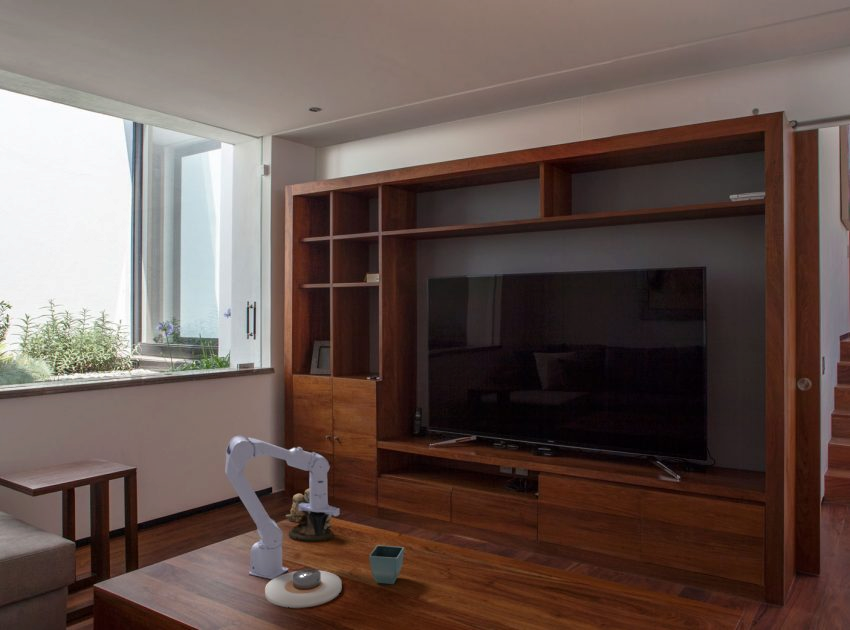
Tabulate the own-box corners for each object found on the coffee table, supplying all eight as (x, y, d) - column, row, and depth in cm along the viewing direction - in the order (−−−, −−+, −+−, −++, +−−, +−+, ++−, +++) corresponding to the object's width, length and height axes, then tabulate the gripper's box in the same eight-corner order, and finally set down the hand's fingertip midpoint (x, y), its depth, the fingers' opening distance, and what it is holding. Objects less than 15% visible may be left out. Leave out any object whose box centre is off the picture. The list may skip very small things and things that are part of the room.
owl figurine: (280, 540, 235) (279, 492, 235) (293, 529, 246) (292, 483, 246) (328, 543, 231) (327, 494, 231) (339, 532, 243) (338, 485, 242)
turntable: (248, 598, 188) (248, 593, 188) (296, 570, 208) (296, 565, 208) (312, 614, 179) (312, 608, 179) (355, 582, 199) (355, 577, 199)
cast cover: (287, 587, 192) (287, 577, 192) (302, 577, 199) (302, 566, 199) (311, 592, 189) (311, 581, 189) (325, 581, 196) (325, 570, 196)
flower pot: (398, 588, 195) (397, 557, 194) (369, 585, 196) (368, 555, 196) (404, 575, 203) (404, 546, 203) (377, 573, 205) (376, 545, 205)
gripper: (344, 492, 213) (345, 534, 213) (307, 487, 219) (307, 527, 219) (332, 498, 206) (332, 541, 207) (294, 492, 213) (294, 534, 213)
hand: (319, 535), depth 213 cm, fingers closed
